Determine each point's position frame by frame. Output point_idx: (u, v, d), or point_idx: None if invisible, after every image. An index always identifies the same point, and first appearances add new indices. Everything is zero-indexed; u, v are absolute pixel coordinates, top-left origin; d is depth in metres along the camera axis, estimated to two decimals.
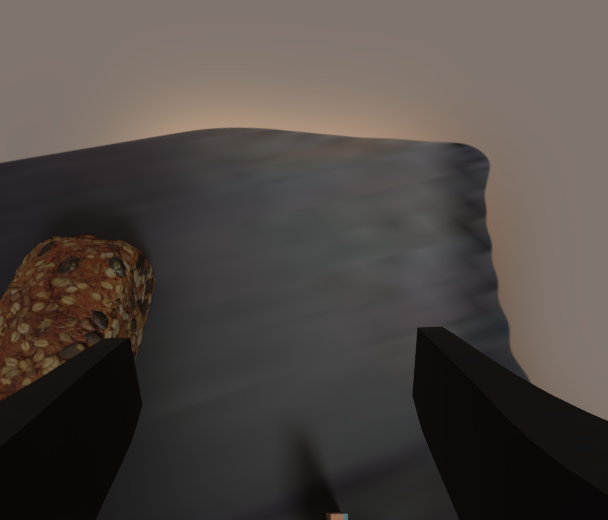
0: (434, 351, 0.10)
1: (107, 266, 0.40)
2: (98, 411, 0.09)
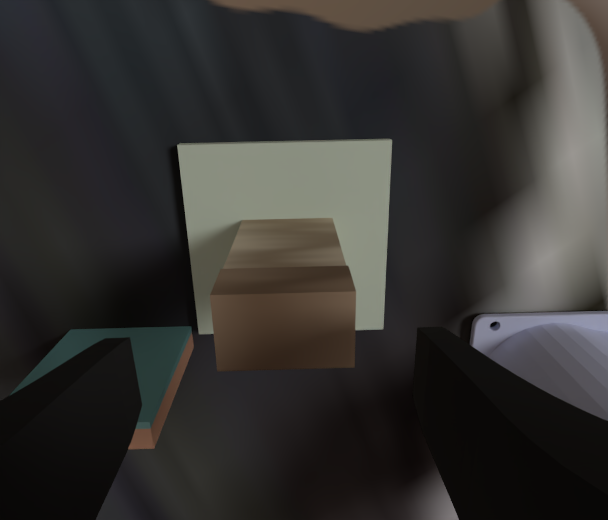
0: (434, 351, 0.10)
1: None
2: (98, 411, 0.09)
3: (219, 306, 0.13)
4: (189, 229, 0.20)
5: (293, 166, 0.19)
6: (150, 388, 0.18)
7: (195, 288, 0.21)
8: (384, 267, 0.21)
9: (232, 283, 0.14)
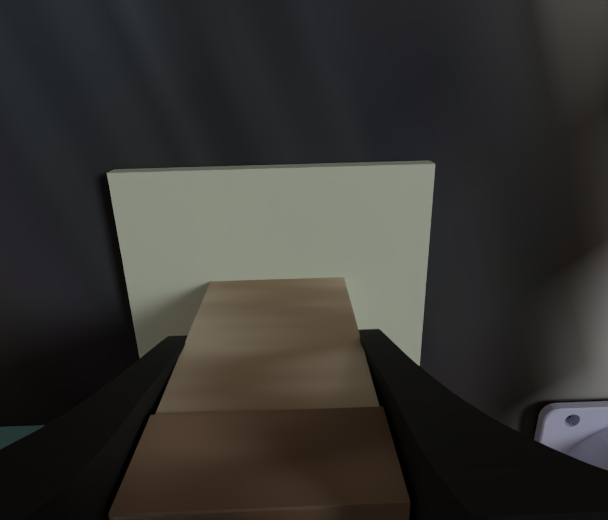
0: None
1: None
2: None
3: None
4: (132, 295, 0.14)
5: (285, 202, 0.13)
6: None
7: None
8: (418, 345, 0.15)
9: (162, 466, 0.07)
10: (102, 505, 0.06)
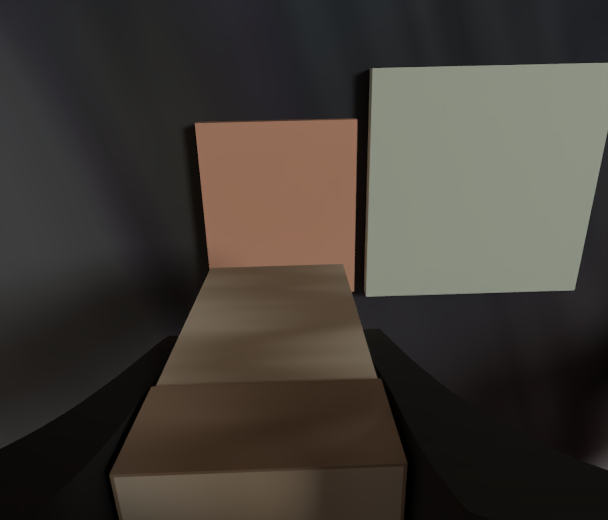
0: None
1: None
2: None
3: (131, 494, 0.06)
4: (372, 171, 0.18)
5: (502, 94, 0.17)
6: None
7: (369, 242, 0.19)
8: (587, 217, 0.18)
9: (162, 432, 0.07)
10: (101, 505, 0.06)
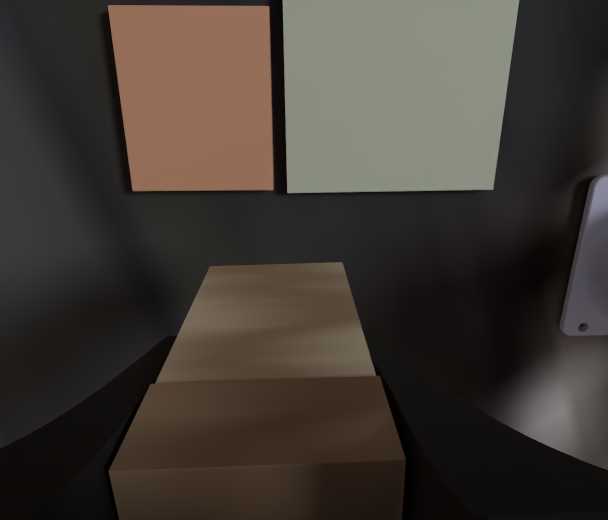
0: None
1: None
2: None
3: (131, 490, 0.06)
4: (287, 59, 0.18)
5: None
6: None
7: (287, 134, 0.19)
8: (502, 111, 0.19)
9: (162, 429, 0.07)
10: (101, 504, 0.06)
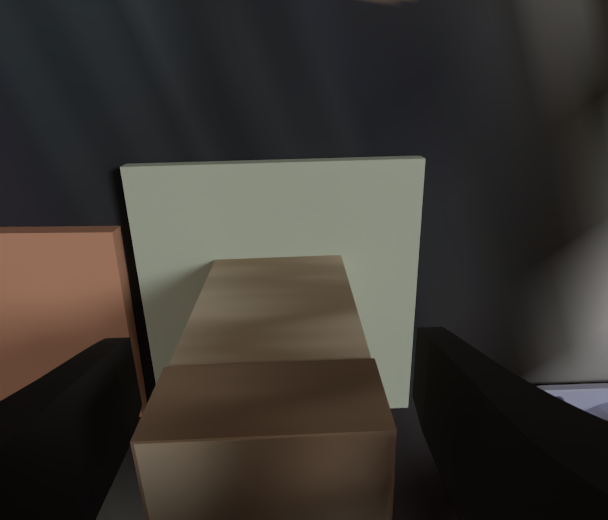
0: (434, 351, 0.10)
1: None
2: (98, 410, 0.09)
3: (149, 460, 0.07)
4: (142, 282, 0.15)
5: (285, 195, 0.14)
6: None
7: (154, 358, 0.16)
8: (411, 329, 0.16)
9: (176, 406, 0.08)
10: None
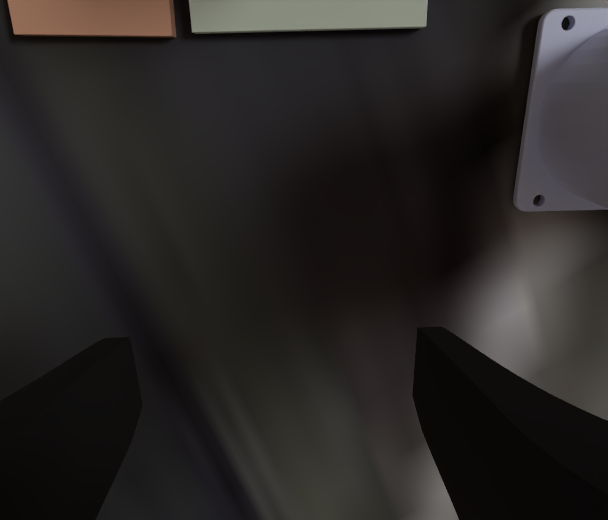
0: (434, 351, 0.10)
1: None
2: (98, 411, 0.09)
3: None
4: None
5: None
6: None
7: None
8: None
9: None
10: None
